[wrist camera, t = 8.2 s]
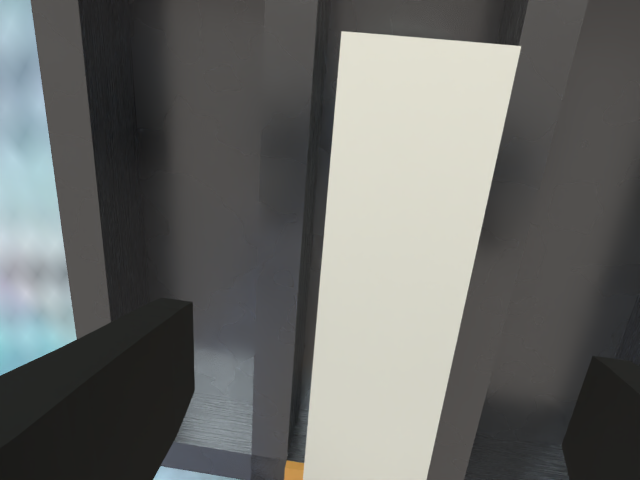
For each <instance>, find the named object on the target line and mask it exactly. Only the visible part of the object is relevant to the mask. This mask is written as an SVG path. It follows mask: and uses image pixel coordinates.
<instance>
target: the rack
mask: <svg viewBox="0 0 640 480" xmlns="http://www.w3.org/2000/svg"><path fill="white" fill-rule="evenodd" d="M31 6H32V13H33V20H34V28H35V35H36V42H37V50H38V57H39V64H40V72H41V79H42V87H43V94H44V101H45V109H46V116H47V123H48V131H49V138H50V145H51V153H52V160H53V167H54V175H55V182H56V189H57V197H58V204H59V211H60V219H61V226H62V234H63V241H64V248H65V256H66V263H67V270H68V278H69V285H70V292H71V300H72V307H73V314H74V322H75V329H76V336H77V339H79V338H81V337H83V336H85V335H87V334H89V333H91V332H93V331H95V330H97V329H99V328H101V327H103V326H105V325H106V324H108V323H110V322H112V321H114V320H116V319H118V318H120V317H122V316H124V315H126V314H128V313H130V312H132V311H134V310H136V309H138V308H140V307H142V306H144V305H146V304H148V303H150V302H152V301H155V300H157V299H159V298H168V299H176V300H183V301H190V302H193V332H194V372H195V391H194V394H193V397H192V399H191V402H190V404H189V407H188V409H187V412H186V414H185V417H184V419H183V422H182V424H181V426H180V429H179V431H178V434H177V436H176V438H175V440H174V442H173V444H172V446H171V448H170V449H169V451H168V453H167V455H166V457H165V458H164V460H163V462H162V464H161V466H164V467H170V468H176V469H182V470H188V471H194V472H200V473H206V474H212V475H218V476H224V477H230V478H236V479H242V480H303V473H304V461H305V450H306V438H307V426H308V415H309V403H310V391H311V380H312V368H313V357H314V345H315V333H316V322H317V310H318V298H319V287H320V275H321V264H322V252H323V240H324V229H325V217H326V205H327V194H328V182H329V171H330V159H331V147H332V136H333V124H334V112H335V101H336V89H337V78H338V66H339V54H340V43H341V31H345V32H358V33H371V34H383V35H395V36H407V37H419V38H431V39H443V40H455V41H467V42H478V43H490V44H502V45H513V46H521V50H520V55H519V59H518V64H517V68H516V73H515V77H514V82H513V86H512V91H511V96H510V100H509V105H508V109H507V114H506V118H505V123H504V128H503V132H502V137H501V141H500V146H499V150H498V155H497V160H496V164H495V169H494V173H493V178H492V182H491V187H490V192H489V196H488V201H487V205H486V210H485V214H484V219H483V224H482V228H481V233H480V237H479V242H478V246H477V251H476V256H475V260H474V265H473V269H472V274H471V278H470V283H469V288H468V292H467V297H466V301H465V306H464V310H463V315H462V320H461V324H460V329H459V333H458V338H457V342H456V347H455V352H454V356H453V361H452V365H451V370H450V374H449V379H448V384H447V388H446V393H445V397H444V402H443V406H442V411H441V416H440V420H439V425H438V429H437V434H436V438H435V443H434V448H433V452H432V457H431V461H430V466H429V470H428V475H427V480H570V479H569V475H568V471H567V467H566V463H565V459H564V454H563V450H562V446H561V445H562V442H563V439H564V436H565V434H566V431H567V428H568V425H569V422H570V419H571V416H572V413H573V411H574V408H575V405H576V402H577V399H578V396H579V393H580V390H581V388H582V385H583V382H584V379H585V376H586V373H587V370H588V367H589V365H590V362H591V359H592V356H598V357H606V358H613V359H621V360H628V361H631V362H633V363H634V364H636V365H638V366H639V367H640V0H31Z"/></svg>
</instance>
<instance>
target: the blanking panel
mask: <svg viewBox="0 0 640 480" xmlns="http://www.w3.org/2000/svg"><path fill="white" fill-rule="evenodd" d="M520 50H521V46H513V45H502V44H490V43H478V42H467V41H455V40H443V39H431V38H419V37H407V36H395V35H383V34H371V33H358V32H345V31H341V43H340V54H339V66H338V78H337V89H336V101H335V112H334V124H333V136H332V147H331V159H330V171H329V182H328V194H327V205H326V217H325V229H324V240H323V252H322V264H321V275H320V287H319V298H318V310H317V322H316V333H315V345H314V357H313V368H312V380H311V391H310V403H309V415H308V426H307V438H306V450H305V461H304V473H303V480H427V475H428V470H429V466H430V461H431V457H432V452H433V448H434V443H435V438H436V434H437V429H438V425H439V420H440V416H441V411H442V406H443V402H444V397H445V393H446V388H447V384H448V379H449V374H450V370H451V365H452V361H453V356H454V352H455V347H456V342H457V338H458V333H459V329H460V324H461V320H462V315H463V310H464V306H465V301H466V297H467V292H468V288H469V283H470V278H471V274H472V269H473V265H474V260H475V256H476V251H477V246H478V242H479V237H480V233H481V228H482V224H483V219H484V214H485V210H486V205H487V201H488V196H489V192H490V187H491V182H492V178H493V173H494V169H495V164H496V160H497V155H498V150H499V146H500V141H501V137H502V132H503V128H504V123H505V118H506V114H507V109H508V105H509V100H510V96H511V91H512V86H513V82H514V77H515V73H516V68H517V64H518V59H519V55H520Z"/></svg>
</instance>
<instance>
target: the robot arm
mask: <svg viewBox="0 0 640 480" xmlns="http://www.w3.org/2000/svg"><path fill="white" fill-rule="evenodd" d="M194 391H195V372H194V332H193V302H190V301H183V300H176V299H168V298H159V299H157V300H155V301H152V302H150V303H148V304H146V305H144V306H142V307H140V308H138V309H136V310H134V311H132V312H130V313H128V314H126V315H124V316H122V317H120V318H118V319H116V320H114V321H112V322H110V323H108V324H106V325H105V326H103V327H101V328H99V329H97V330H95V331H93V332H91V333H89V334H87V335H85V336H83V337H81V338H79V339H77V340H75V341H73V342H71V343H69V344H67V345H65V346H63V347H61V348H59V349H57V350H55V351H53V352H50V353H48V354H46V355H44V356H42V357H40V358H38V359H35V360H33V361H31V362H29V363H27V364H25V365H23V366H20V367H18V368H16V369H14V370H12V371H10V372H8V373H5V374H3V375H1V376H0V480H153V478H154V476H155V475H156V473H157V471H158V469H159V467H160V466H161V464H162V462H163V460H164V458H165V457H166V455H167V453H168V451H169V449H170V448H171V446H172V444H173V442H174V440H175V438H176V436H177V434H178V431H179V429H180V426H181V424H182V422H183V419H184V417H185V414H186V412H187V409H188V407H189V404H190V402H191V399H192V397H193V394H194ZM561 446H562V450H563V454H564V459H565V463H566V467H567V471H568V475H569V479H570V480H640V367H639V366H638V365H636V364H634V363H633V362H631V361H628V360H621V359H613V358H606V357H598V356H592V359H591V362H590V365H589V367H588V370H587V373H586V376H585V379H584V382H583V385H582V388H581V390H580V393H579V396H578V399H577V402H576V405H575V408H574V411H573V413H572V416H571V419H570V422H569V425H568V428H567V431H566V434H565V436H564V439H563V442H562V445H561Z"/></svg>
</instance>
